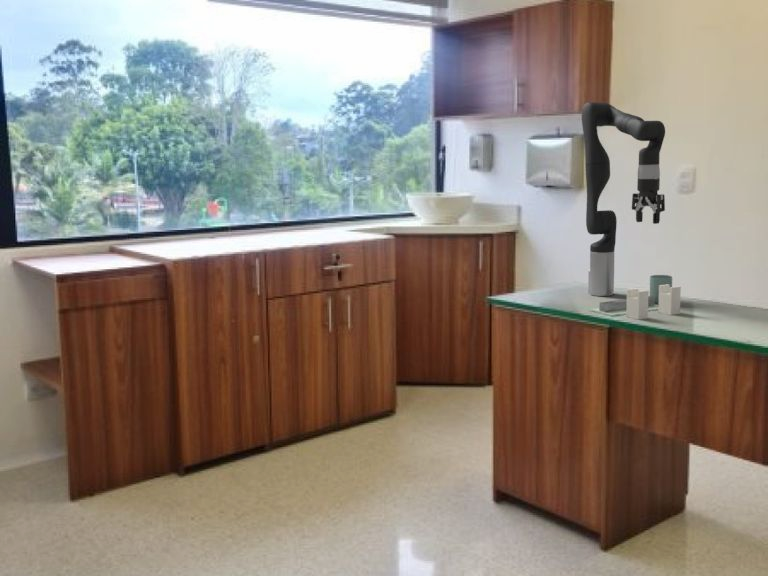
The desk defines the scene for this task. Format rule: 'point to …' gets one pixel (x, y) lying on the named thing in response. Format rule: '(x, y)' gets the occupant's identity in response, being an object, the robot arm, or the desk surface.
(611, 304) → the bar
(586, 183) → the robot arm
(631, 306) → the rack
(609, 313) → the mat
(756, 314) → the desk surface
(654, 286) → the cup
